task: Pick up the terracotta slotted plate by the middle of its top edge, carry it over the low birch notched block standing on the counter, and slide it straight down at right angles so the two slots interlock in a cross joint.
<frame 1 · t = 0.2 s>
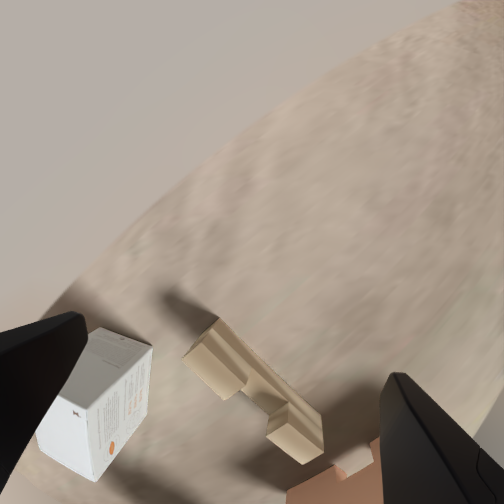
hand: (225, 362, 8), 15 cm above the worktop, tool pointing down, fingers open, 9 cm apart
terracotta plate: (357, 459, 24), on the worktop
birch notched block: (264, 378, 24), on the worktop
small box: (125, 371, 26), on the worktop
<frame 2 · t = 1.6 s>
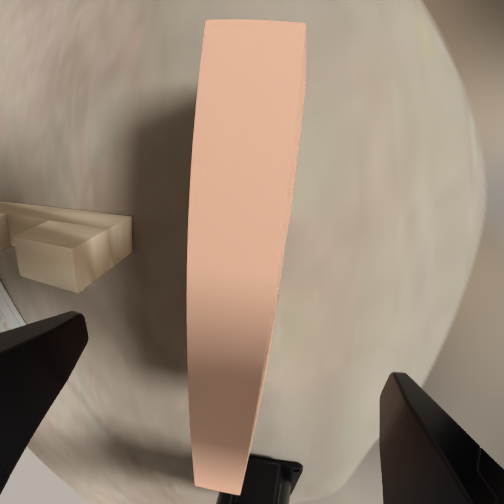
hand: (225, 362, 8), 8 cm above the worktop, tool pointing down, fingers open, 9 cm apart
terracotta plate: (263, 254, 15), on the worktop
birch notched block: (52, 222, 17), on the worktop
small box: (12, 322, 22), on the worktop
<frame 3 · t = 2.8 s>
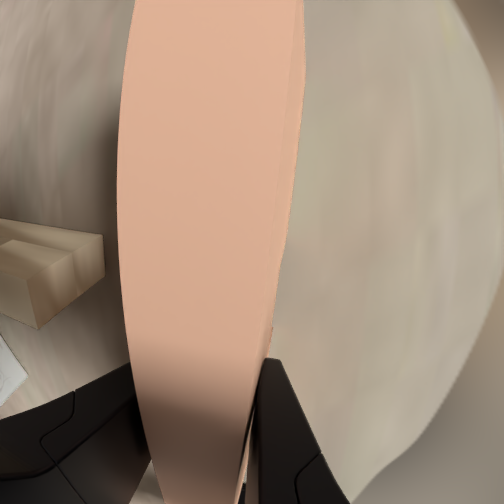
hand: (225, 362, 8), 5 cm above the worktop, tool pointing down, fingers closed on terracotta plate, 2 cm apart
terracotta plate: (254, 282, 13), on the worktop, touching gripper
birch notched block: (22, 238, 14), on the worktop
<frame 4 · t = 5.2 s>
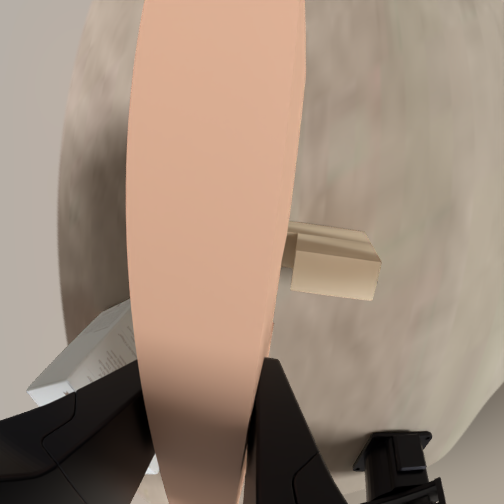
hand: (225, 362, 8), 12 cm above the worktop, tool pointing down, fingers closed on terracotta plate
terracotta plate: (255, 277, 13), point 7 cm above the worktop, touching gripper
birch notched block: (264, 233, 20), on the worktop
small box: (152, 339, 24), on the worktop
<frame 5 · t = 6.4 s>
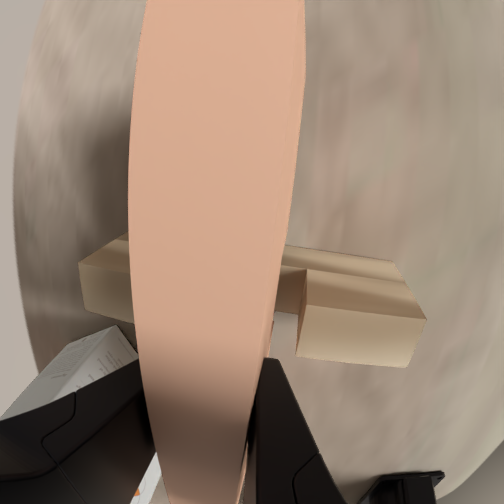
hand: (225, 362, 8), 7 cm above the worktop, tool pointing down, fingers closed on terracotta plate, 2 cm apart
terracotta plate: (255, 275, 13), point 2 cm above the worktop, touching gripper
birch notched block: (259, 262, 15), on the worktop
small box: (127, 377, 19), on the worktop
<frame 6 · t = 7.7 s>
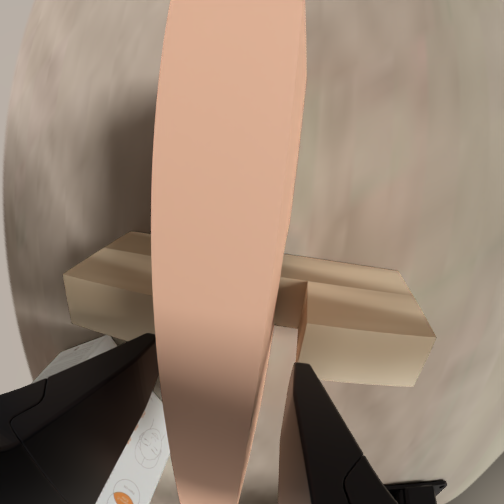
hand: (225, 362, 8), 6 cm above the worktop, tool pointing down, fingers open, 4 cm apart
terracotta plate: (259, 268, 14), on the worktop
birch notched block: (257, 272, 14), on the worktop
small box: (121, 387, 18), on the worktop
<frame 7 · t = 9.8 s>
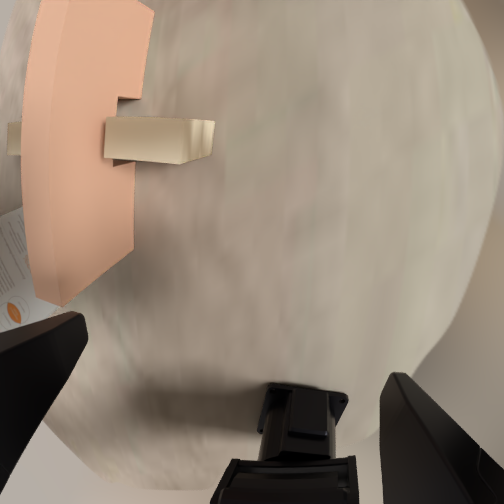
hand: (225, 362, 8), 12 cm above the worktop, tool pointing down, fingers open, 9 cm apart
terracotta plate: (124, 129, 18), on the worktop
birch notched block: (123, 132, 18), on the worktop
small box: (47, 253, 23), on the worktop
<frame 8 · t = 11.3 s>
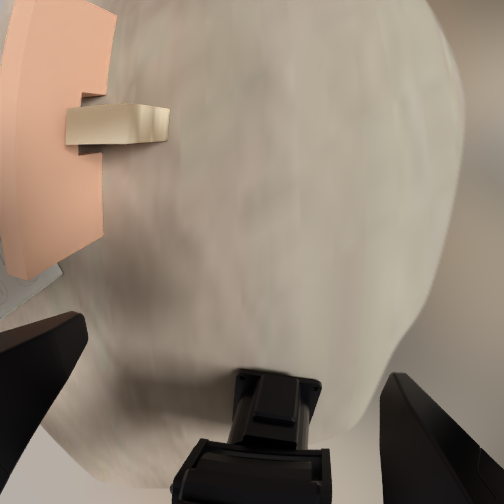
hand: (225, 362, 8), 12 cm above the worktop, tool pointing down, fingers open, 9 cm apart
terracotta plate: (92, 124, 19), on the worktop
birch notched block: (91, 126, 19), on the worktop
small box: (30, 245, 23), on the worktop
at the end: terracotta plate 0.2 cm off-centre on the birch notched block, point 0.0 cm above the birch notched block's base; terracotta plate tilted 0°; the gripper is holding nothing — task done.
